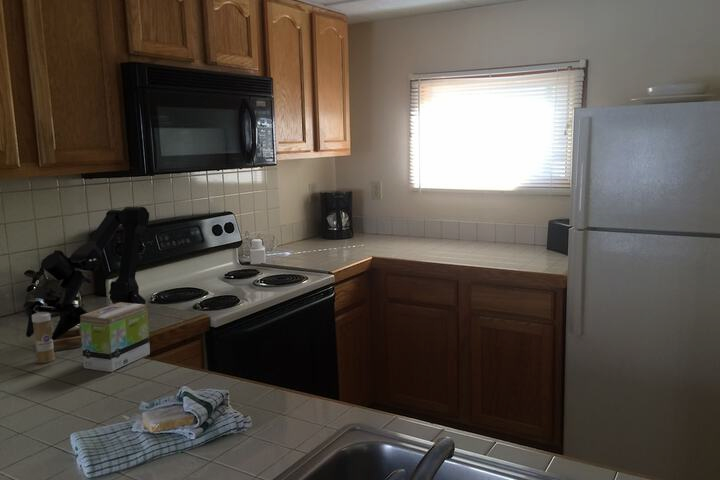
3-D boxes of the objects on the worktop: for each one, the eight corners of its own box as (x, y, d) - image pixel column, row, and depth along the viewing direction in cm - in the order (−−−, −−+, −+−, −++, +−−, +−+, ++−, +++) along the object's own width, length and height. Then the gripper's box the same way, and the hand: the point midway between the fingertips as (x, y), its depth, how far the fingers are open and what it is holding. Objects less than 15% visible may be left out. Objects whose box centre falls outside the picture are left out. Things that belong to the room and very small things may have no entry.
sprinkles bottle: (43, 364, 165) (38, 316, 163) (33, 362, 167) (27, 314, 165) (58, 359, 169) (53, 312, 167) (48, 357, 171) (43, 310, 169)
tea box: (113, 373, 158) (108, 317, 155) (82, 369, 161) (77, 315, 159) (151, 354, 172) (147, 303, 169) (123, 350, 175) (118, 300, 173)
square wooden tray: (82, 336, 189) (81, 327, 189) (86, 345, 180) (85, 336, 180) (46, 342, 184) (45, 333, 184) (48, 352, 176) (47, 342, 175)
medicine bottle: (251, 261, 305) (250, 238, 303) (265, 261, 305) (264, 237, 304) (250, 264, 298) (249, 240, 296) (265, 263, 298) (263, 239, 297)
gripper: (24, 272, 172) (-7, 320, 163) (75, 275, 165) (46, 326, 157) (50, 292, 180) (22, 340, 172) (100, 296, 174) (73, 346, 165)
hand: (39, 337), depth 166 cm, fingers open, 9 cm apart
